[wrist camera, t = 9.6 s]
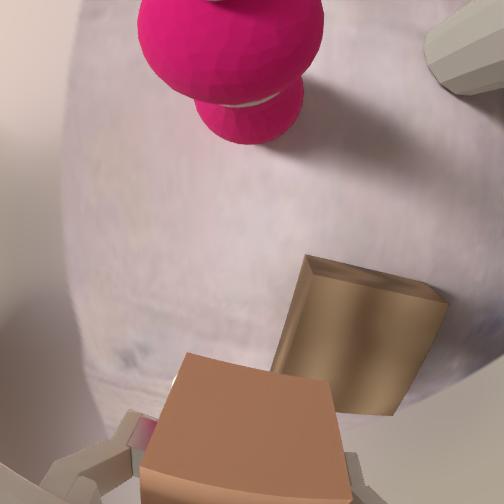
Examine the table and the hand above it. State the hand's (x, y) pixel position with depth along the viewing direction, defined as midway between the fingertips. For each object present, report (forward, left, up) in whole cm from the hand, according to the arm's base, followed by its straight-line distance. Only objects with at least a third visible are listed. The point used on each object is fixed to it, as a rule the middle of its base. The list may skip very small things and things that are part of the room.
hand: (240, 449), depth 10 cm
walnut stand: (-9, +3, -19) cm, 21 cm away
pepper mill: (+3, -14, -19) cm, 23 cm away
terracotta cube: (0, 0, -2) cm, 2 cm away
